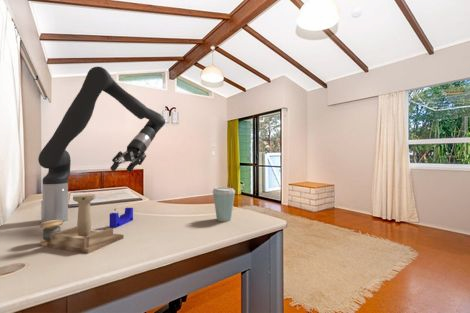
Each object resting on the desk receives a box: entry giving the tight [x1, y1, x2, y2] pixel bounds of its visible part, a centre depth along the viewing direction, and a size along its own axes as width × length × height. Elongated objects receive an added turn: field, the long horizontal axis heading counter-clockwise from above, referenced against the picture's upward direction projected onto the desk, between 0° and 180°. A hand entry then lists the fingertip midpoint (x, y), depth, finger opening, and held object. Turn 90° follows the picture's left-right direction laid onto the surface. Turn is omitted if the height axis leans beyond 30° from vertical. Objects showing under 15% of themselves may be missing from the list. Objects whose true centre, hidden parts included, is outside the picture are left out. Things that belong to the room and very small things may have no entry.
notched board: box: [45, 226, 125, 254], centre depth 80 cm, size 18×14×4 cm
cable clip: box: [109, 206, 134, 229], centre depth 103 cm, size 12×4×6 cm, turn 171°
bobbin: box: [39, 220, 64, 247], centre depth 80 cm, size 6×6×7 cm
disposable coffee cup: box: [212, 186, 236, 222], centre depth 109 cm, size 11×11×15 cm
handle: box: [72, 193, 96, 237], centre depth 79 cm, size 5×6×15 cm
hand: (119, 170), depth 98 cm, fingers open, 8 cm apart
